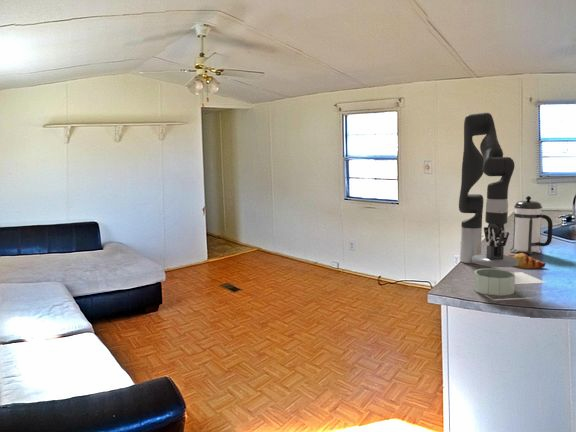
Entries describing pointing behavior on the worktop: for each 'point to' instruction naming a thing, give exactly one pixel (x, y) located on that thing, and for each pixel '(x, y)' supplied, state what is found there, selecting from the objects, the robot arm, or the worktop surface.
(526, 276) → the mat
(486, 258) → the lid
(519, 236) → the coffee press
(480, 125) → the robot arm
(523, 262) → the croissant
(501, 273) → the bowl
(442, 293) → the worktop surface
